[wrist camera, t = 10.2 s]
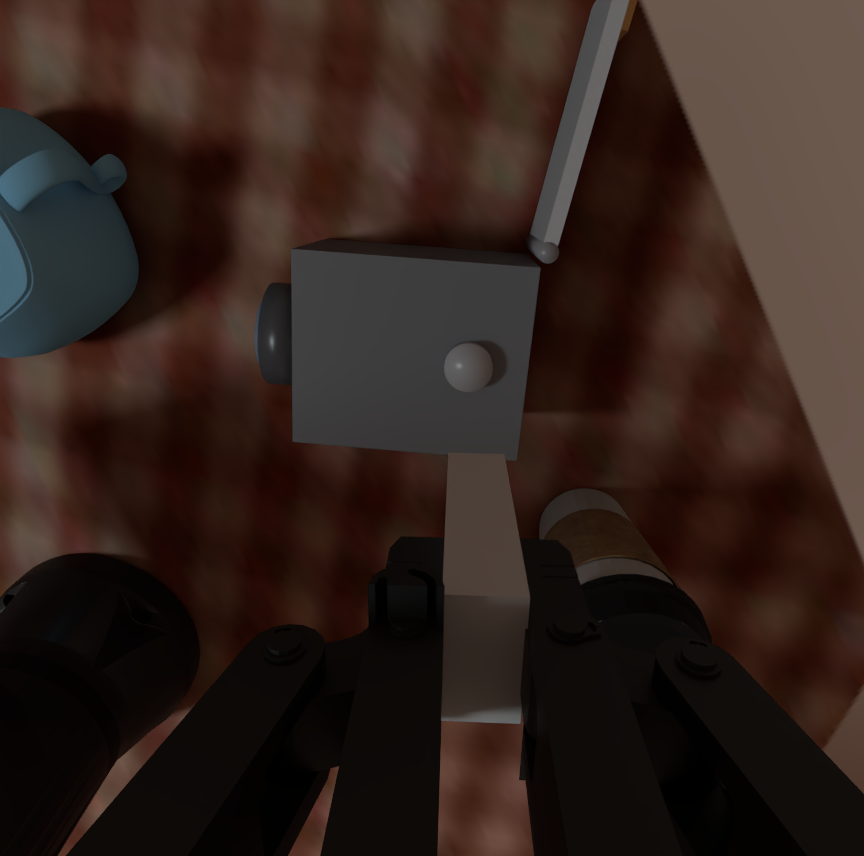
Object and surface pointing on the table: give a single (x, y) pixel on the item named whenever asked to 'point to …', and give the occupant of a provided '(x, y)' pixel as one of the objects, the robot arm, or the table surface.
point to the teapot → (58, 239)
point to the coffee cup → (620, 572)
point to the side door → (577, 123)
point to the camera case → (402, 345)
